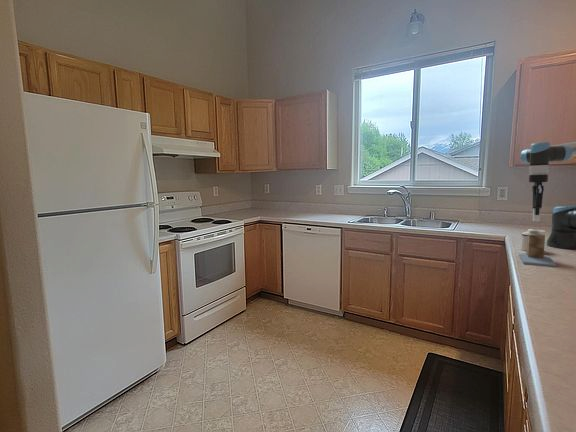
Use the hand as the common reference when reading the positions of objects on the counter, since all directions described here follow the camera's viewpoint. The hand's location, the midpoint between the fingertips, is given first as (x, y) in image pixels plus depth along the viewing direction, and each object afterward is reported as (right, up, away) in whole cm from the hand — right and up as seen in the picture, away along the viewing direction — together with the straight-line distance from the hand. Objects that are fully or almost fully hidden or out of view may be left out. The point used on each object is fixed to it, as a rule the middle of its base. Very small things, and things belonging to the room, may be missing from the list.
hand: (536, 221), depth 163 cm
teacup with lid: (+8, -16, +14) cm, 23 cm away
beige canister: (-4, -17, -4) cm, 18 cm away
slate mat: (-6, -19, -8) cm, 22 cm away
